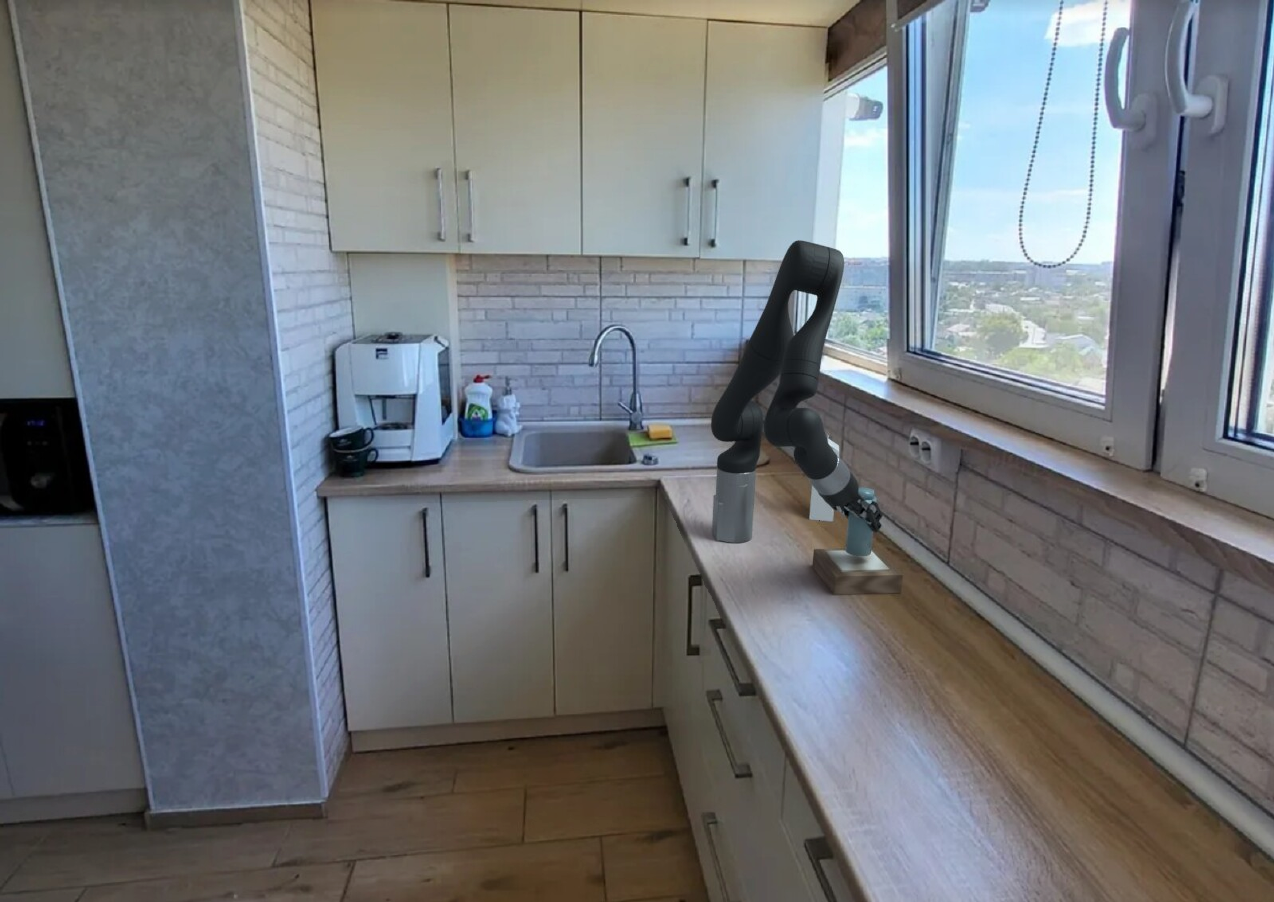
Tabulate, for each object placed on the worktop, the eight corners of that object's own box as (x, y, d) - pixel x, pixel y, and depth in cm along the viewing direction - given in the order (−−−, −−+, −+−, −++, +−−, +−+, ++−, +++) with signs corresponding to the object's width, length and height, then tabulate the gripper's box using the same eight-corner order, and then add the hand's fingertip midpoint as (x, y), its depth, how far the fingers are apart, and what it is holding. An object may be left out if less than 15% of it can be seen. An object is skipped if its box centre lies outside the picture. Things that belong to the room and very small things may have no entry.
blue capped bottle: (850, 556, 152) (856, 494, 148) (841, 546, 157) (847, 486, 153) (874, 556, 152) (881, 494, 149) (865, 546, 157) (871, 486, 154)
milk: (809, 519, 190) (815, 437, 184) (809, 512, 196) (815, 431, 190) (833, 522, 189) (840, 439, 183) (833, 514, 194) (840, 433, 188)
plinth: (834, 594, 149) (836, 574, 148) (812, 565, 162) (814, 547, 161) (900, 592, 150) (903, 573, 149) (873, 564, 164) (875, 546, 162)
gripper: (871, 472, 139) (904, 520, 149) (815, 455, 151) (849, 500, 161) (849, 503, 138) (884, 550, 148) (794, 483, 150) (830, 528, 159)
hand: (866, 524), depth 154 cm, fingers closed on blue capped bottle, 5 cm apart
